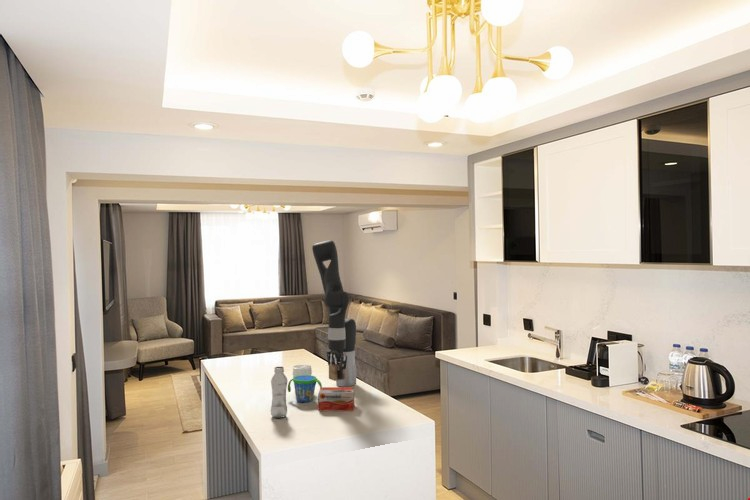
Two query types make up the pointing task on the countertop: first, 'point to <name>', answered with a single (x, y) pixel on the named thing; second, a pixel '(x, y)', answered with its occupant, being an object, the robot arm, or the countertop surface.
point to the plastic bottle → (279, 393)
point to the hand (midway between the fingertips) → (336, 377)
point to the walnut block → (334, 372)
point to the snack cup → (304, 387)
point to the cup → (301, 370)
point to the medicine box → (336, 399)
